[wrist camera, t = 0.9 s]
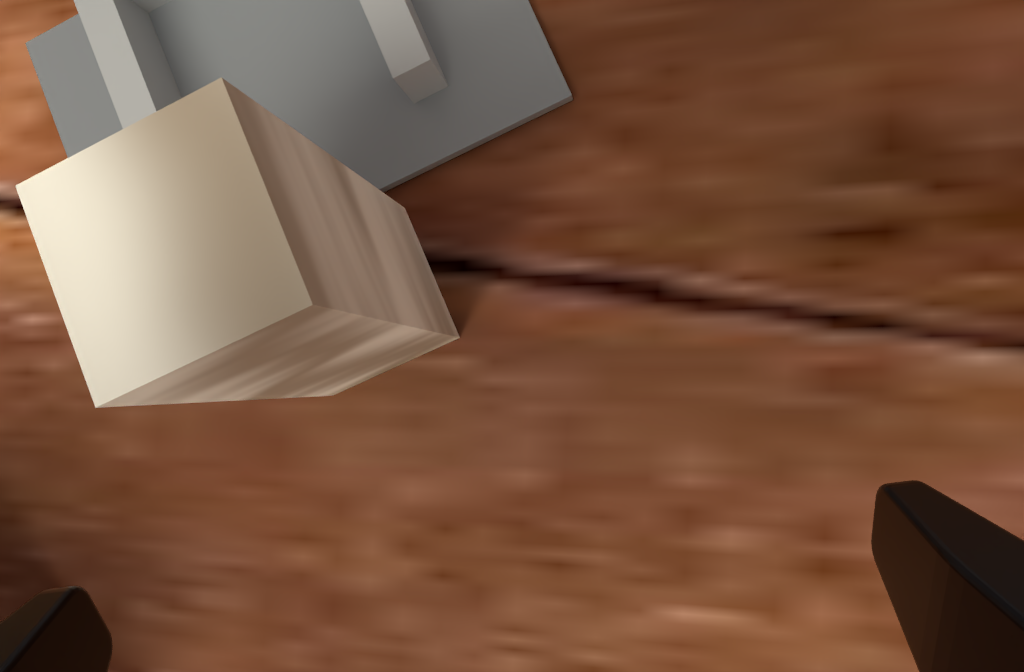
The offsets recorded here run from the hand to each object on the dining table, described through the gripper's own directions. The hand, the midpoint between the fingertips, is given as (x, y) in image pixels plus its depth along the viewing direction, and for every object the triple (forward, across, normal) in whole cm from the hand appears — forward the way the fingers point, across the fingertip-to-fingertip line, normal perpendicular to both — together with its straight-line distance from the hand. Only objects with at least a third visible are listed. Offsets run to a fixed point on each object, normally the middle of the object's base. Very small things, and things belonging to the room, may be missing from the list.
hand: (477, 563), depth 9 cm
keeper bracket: (+21, +6, -3) cm, 22 cm away
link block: (+16, +4, +4) cm, 17 cm away
